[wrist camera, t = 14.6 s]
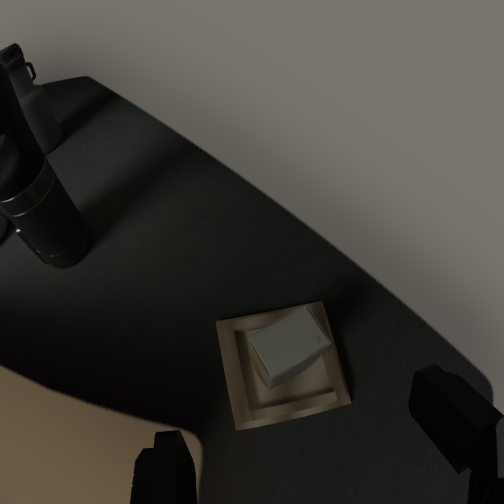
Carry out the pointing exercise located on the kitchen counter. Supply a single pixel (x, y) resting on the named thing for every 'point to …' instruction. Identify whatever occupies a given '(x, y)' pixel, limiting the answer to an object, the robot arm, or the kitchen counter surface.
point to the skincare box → (286, 347)
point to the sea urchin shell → (3, 222)
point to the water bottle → (31, 99)
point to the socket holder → (288, 393)
